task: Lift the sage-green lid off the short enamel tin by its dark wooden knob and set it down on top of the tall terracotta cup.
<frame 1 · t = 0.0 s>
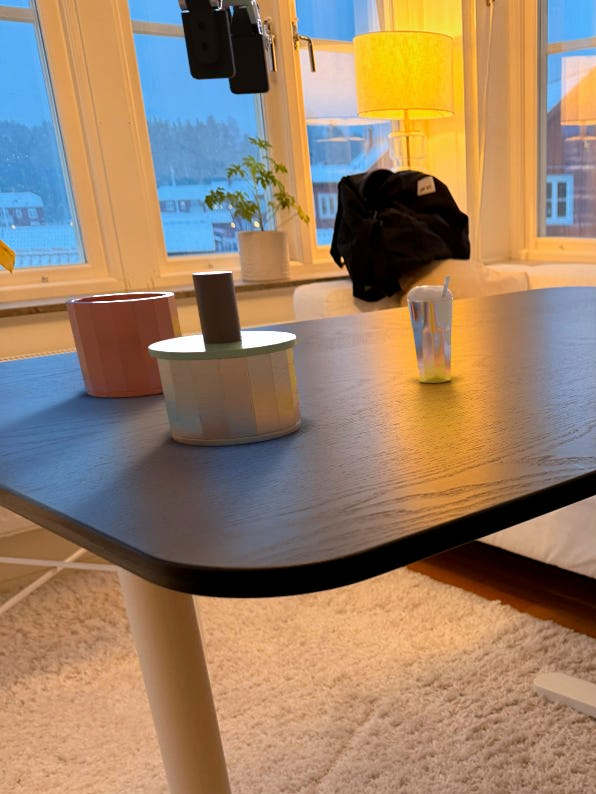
hand: (233, 86, 69), 25 cm above the table, tool pointing down, fingers open, 9 cm apart
tin: (237, 430, 73), on the table
lid: (224, 348, 70), point 6 cm above the table, touching tin
cup: (139, 387, 94), on the table
milkshake: (437, 382, 90), on the table
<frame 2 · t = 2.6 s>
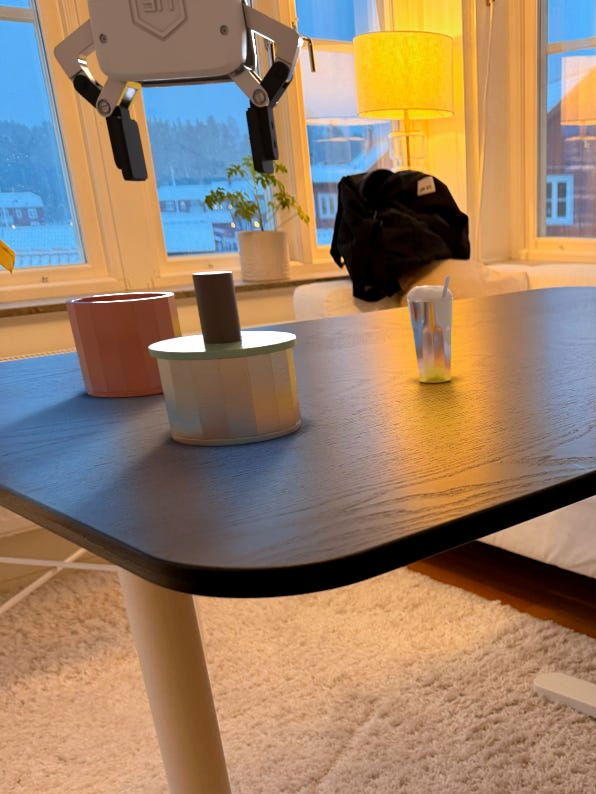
hand: (200, 176, 65), 19 cm above the table, tool pointing down, fingers open, 9 cm apart
nothing on the table moved.
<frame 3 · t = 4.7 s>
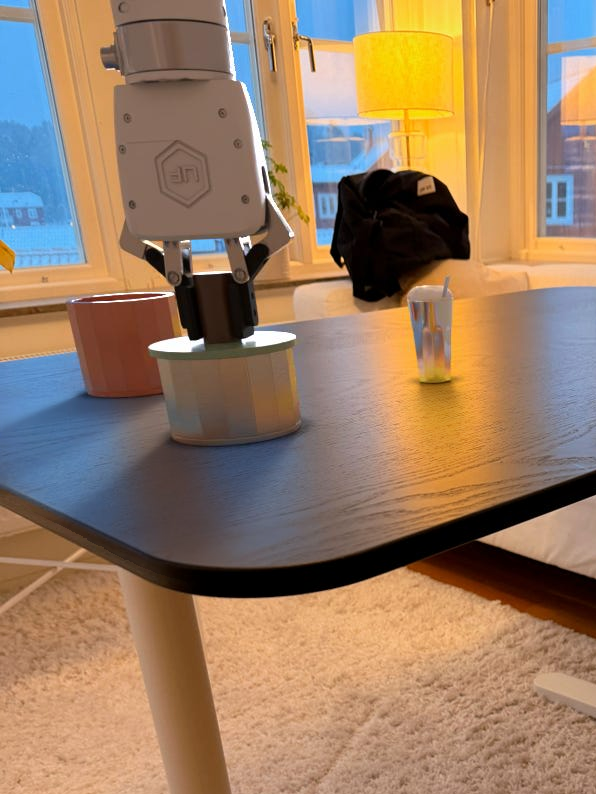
hand: (222, 335, 70), 8 cm above the table, tool pointing down, fingers closed on lid, 3 cm apart
lid: (224, 348, 70), point 7 cm above the table, touching gripper, tin
everything else where it was.
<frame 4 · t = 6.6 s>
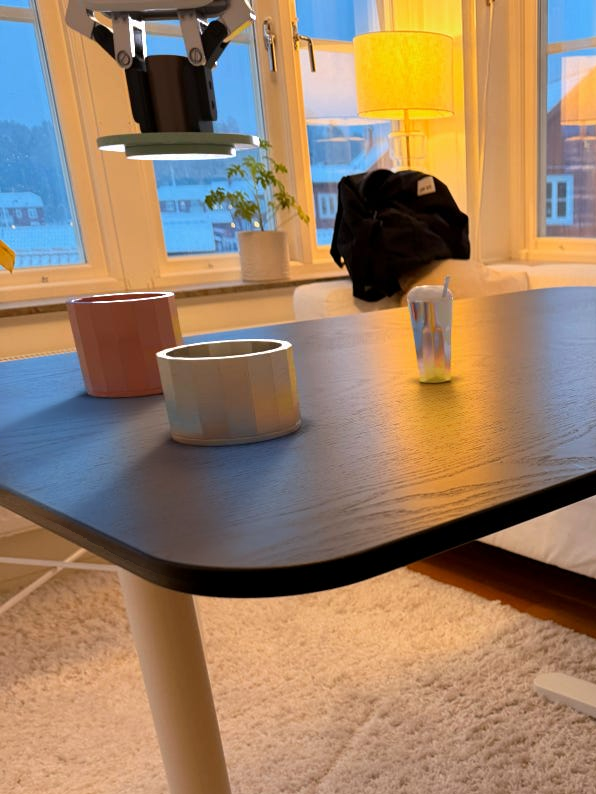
hand: (177, 131, 65), 22 cm above the table, tool pointing down, fingers closed on lid, 3 cm apart
lid: (180, 147, 65), point 21 cm above the table, touching gripper
everything else where it was.
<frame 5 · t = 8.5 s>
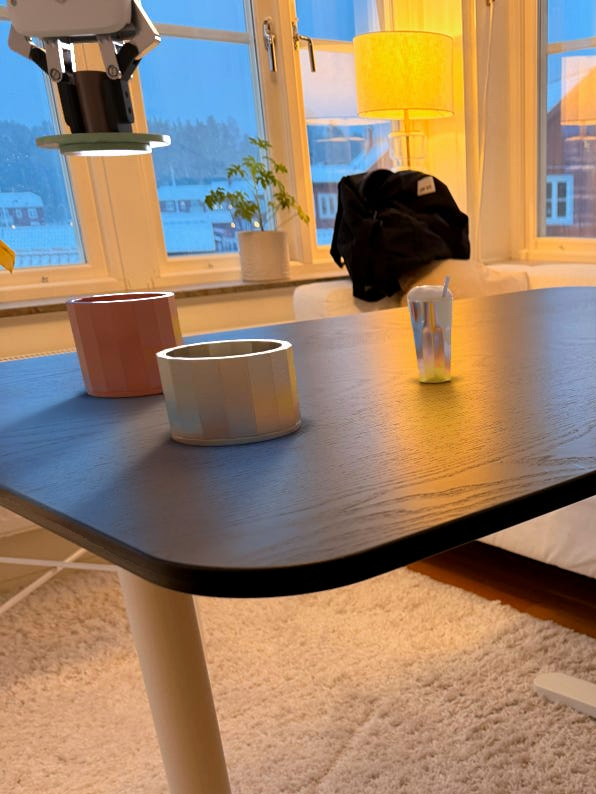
hand: (102, 132, 79), 23 cm above the table, tool pointing down, fingers closed on lid, 3 cm apart
lid: (105, 145, 80), point 22 cm above the table, touching gripper
everything else where it was.
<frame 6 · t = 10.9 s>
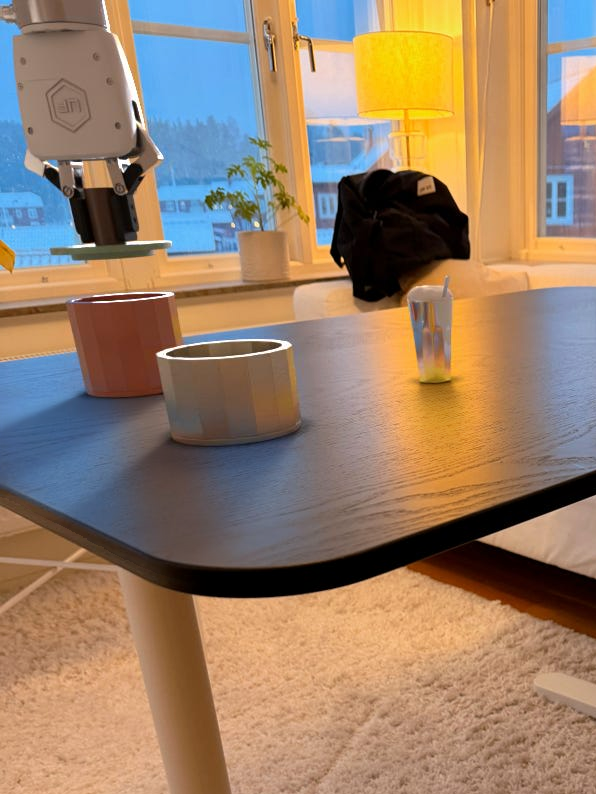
hand: (110, 239, 87), 14 cm above the table, tool pointing down, fingers closed on lid, 3 cm apart
lid: (112, 251, 88), point 13 cm above the table, touching gripper
everything else where it was.
when the fingers open (10 cm above the table, at t = 12.2 s): lid stays where it is, resting on cup.
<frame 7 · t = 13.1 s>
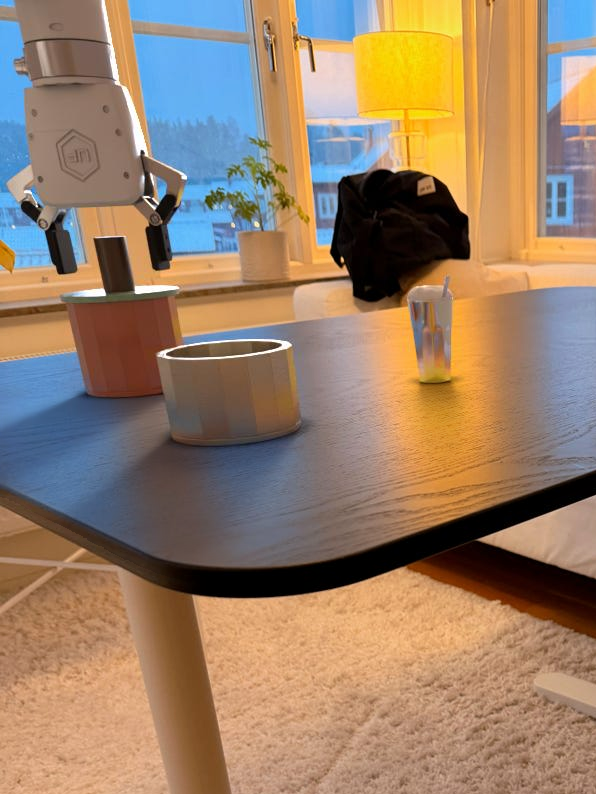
hand: (114, 271, 89), 11 cm above the table, tool pointing down, fingers open, 9 cm apart
lid: (121, 297, 90), point 9 cm above the table, touching cup
everything else where it was.
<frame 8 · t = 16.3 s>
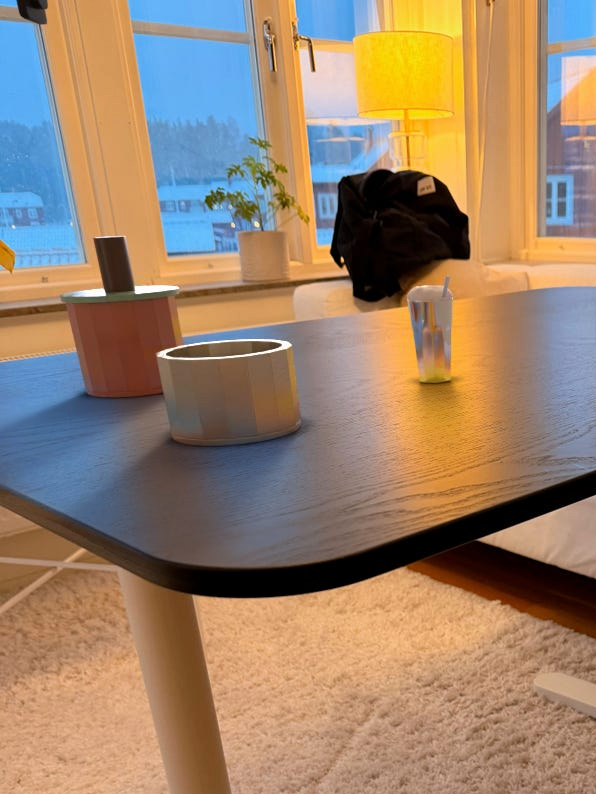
nothing on the table moved.
at the end: lid 0.1 cm off-centre on the cup, point 9.0 cm above the cup's base; lid tilted 0°; lid moved 28.0 cm from its start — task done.
